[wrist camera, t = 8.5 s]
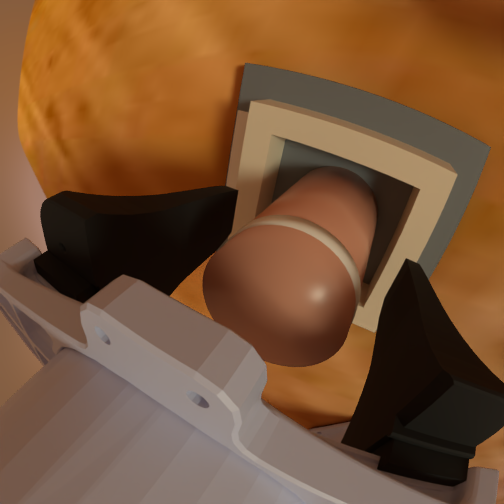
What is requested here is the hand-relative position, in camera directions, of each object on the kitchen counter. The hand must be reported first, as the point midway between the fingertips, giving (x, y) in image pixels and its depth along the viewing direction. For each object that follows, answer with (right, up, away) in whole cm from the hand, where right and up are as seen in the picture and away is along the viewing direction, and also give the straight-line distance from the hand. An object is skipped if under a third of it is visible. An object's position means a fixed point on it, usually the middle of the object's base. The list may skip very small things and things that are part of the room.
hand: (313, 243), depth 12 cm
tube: (+2, +2, +3) cm, 4 cm away
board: (+2, +2, +3) cm, 4 cm away
